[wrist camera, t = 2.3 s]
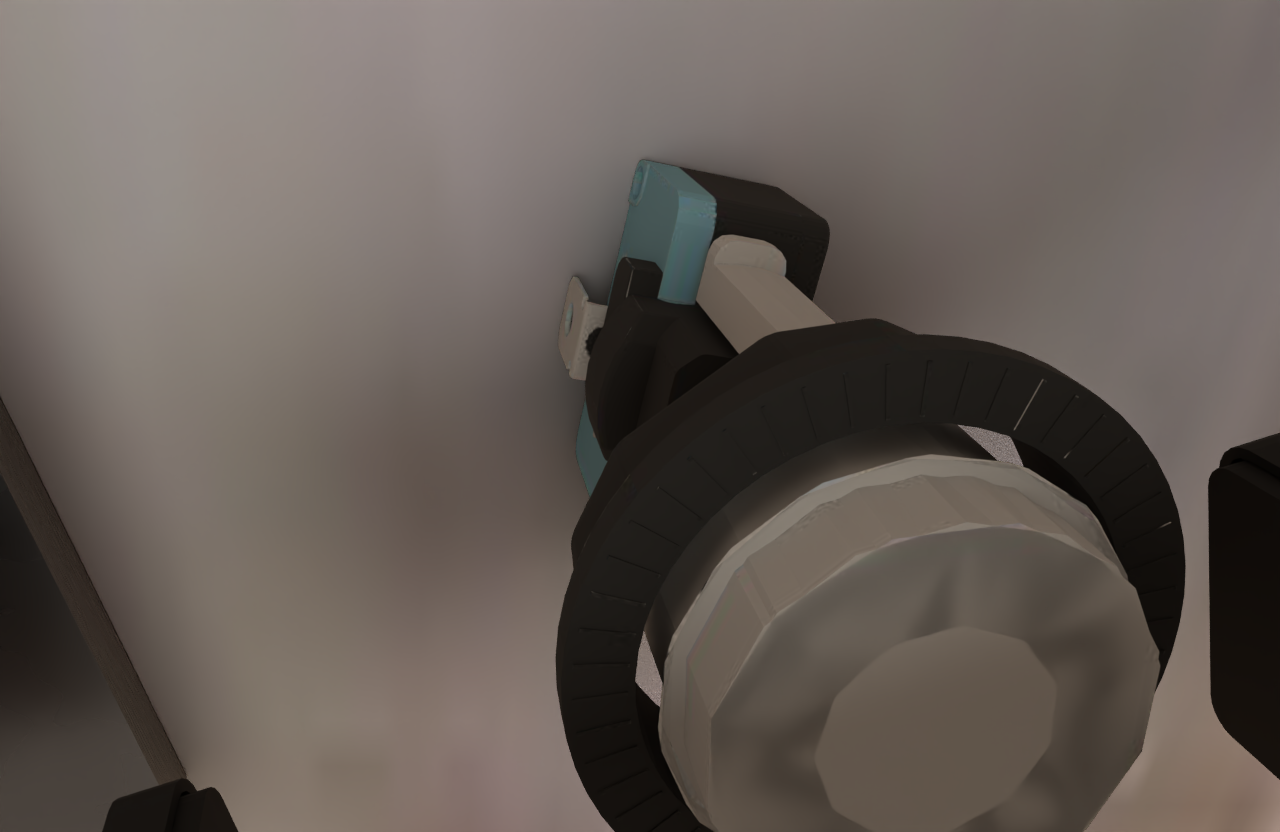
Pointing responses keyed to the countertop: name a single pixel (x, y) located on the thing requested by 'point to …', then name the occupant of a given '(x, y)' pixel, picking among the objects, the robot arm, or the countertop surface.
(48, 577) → the stand
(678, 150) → the countertop surface
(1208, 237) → the countertop surface
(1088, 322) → the countertop surface
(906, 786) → the push button
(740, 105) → the countertop surface
